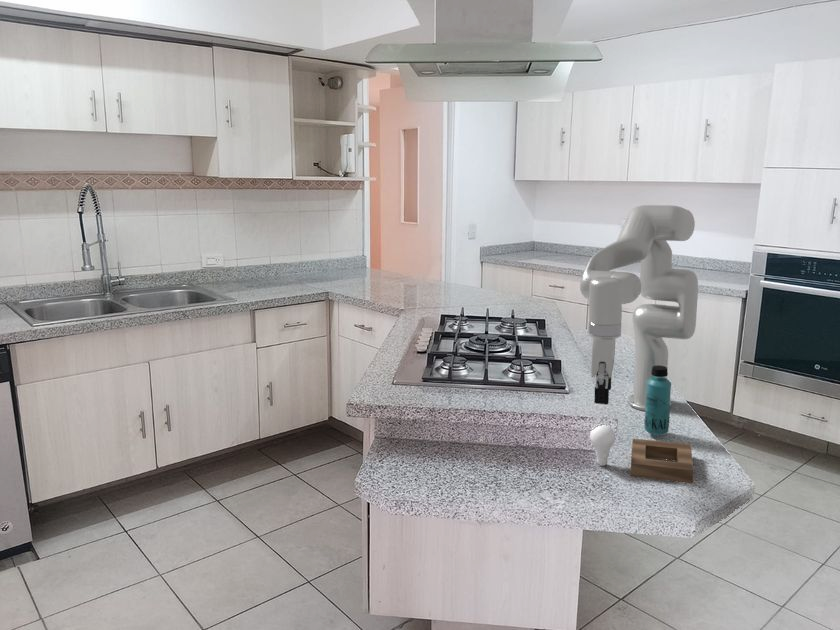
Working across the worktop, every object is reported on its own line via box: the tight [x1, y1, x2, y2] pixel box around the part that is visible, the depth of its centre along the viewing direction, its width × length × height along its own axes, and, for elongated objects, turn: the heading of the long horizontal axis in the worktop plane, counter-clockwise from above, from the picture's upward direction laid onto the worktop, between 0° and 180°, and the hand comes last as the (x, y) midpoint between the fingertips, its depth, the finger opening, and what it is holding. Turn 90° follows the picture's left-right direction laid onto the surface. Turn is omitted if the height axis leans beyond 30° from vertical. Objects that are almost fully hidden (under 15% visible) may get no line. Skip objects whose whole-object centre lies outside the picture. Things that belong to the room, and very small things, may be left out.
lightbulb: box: [589, 424, 616, 467], centre depth 159 cm, size 6×6×11 cm
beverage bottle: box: [643, 365, 672, 436], centre depth 173 cm, size 6×7×20 cm
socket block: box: [630, 438, 694, 484], centre depth 158 cm, size 14×14×4 cm
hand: (602, 396), depth 156 cm, fingers open, 9 cm apart
